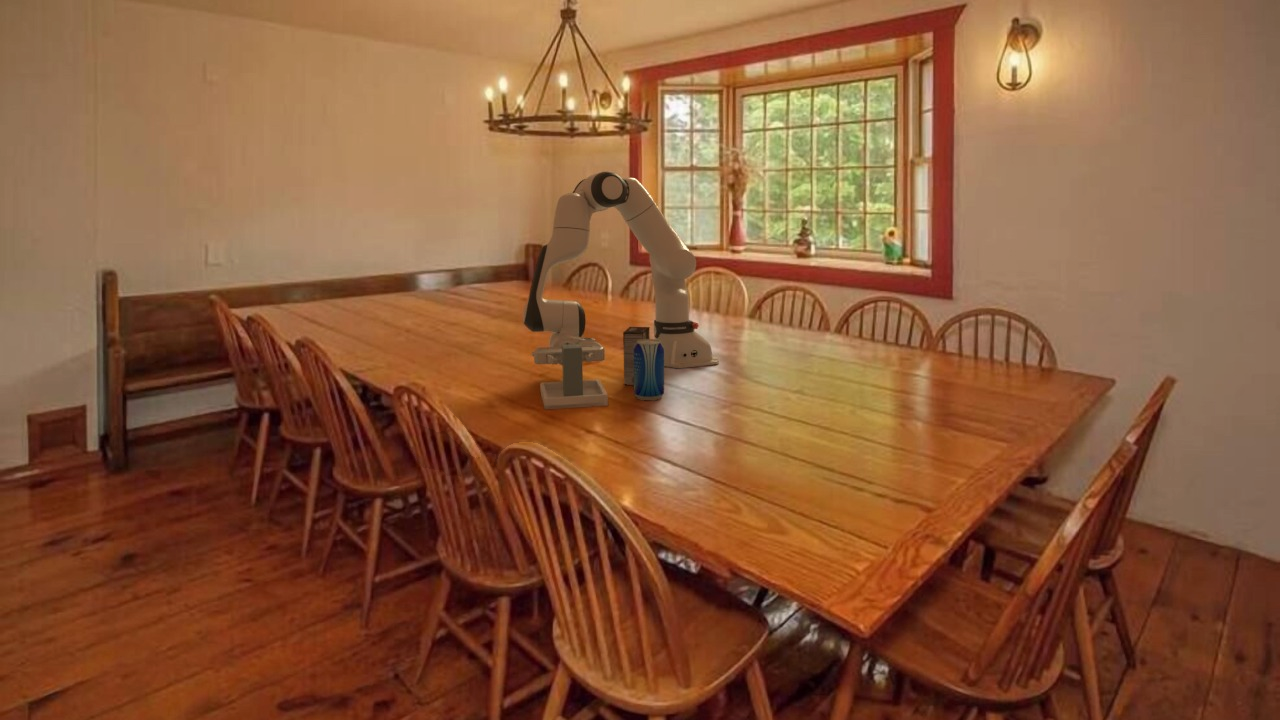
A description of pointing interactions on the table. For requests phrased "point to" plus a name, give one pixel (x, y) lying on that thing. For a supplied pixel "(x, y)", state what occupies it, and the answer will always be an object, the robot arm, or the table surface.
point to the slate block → (572, 370)
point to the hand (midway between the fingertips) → (571, 360)
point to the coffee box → (632, 350)
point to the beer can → (648, 369)
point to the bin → (556, 400)
